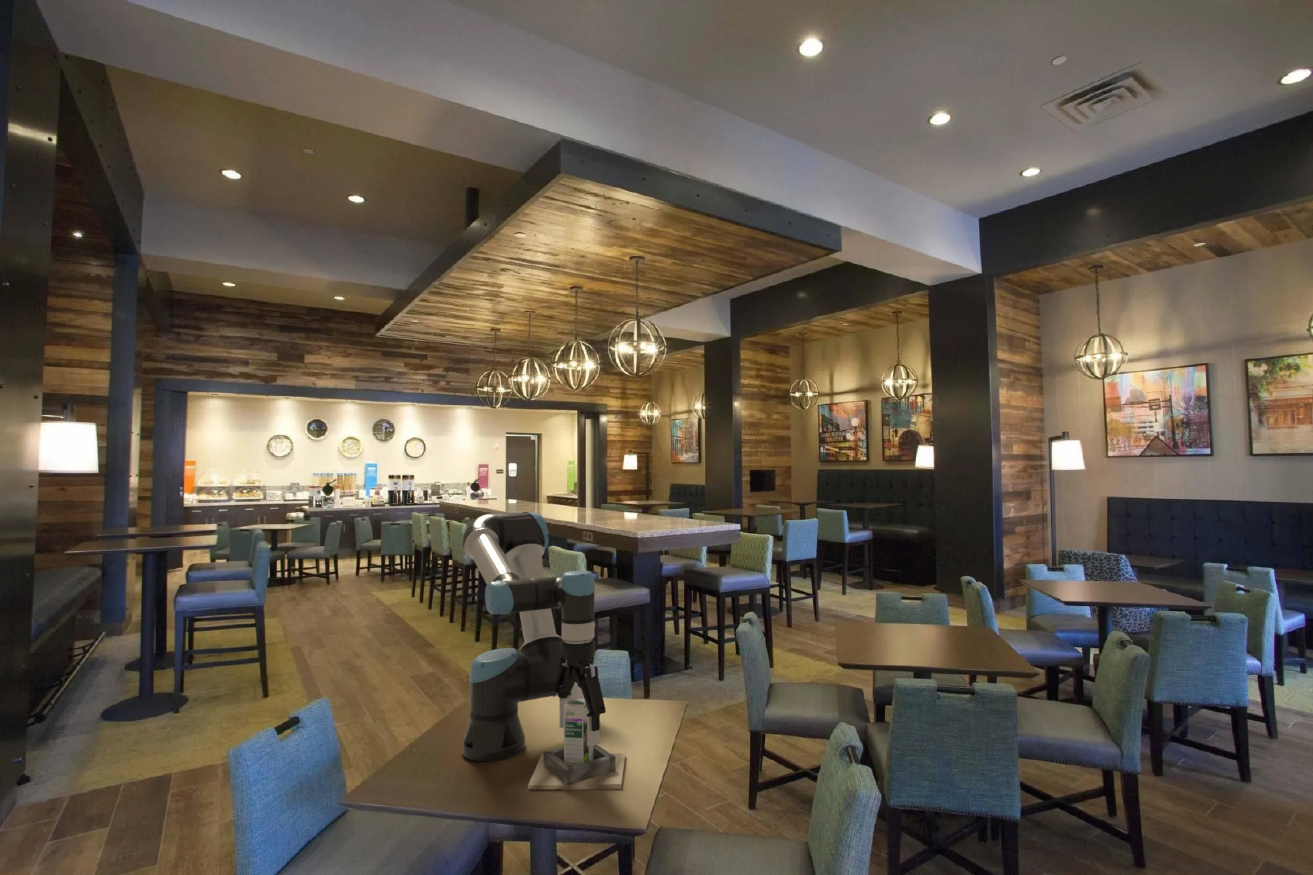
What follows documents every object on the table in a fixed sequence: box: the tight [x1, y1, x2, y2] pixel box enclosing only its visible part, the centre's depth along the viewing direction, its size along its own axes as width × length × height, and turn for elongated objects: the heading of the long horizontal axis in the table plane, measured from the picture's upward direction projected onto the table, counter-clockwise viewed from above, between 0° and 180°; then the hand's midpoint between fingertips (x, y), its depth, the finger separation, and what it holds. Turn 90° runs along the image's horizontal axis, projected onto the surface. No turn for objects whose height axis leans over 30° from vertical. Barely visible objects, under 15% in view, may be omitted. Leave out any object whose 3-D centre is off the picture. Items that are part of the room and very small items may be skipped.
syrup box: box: [563, 699, 593, 767], centre depth 145 cm, size 6×6×14 cm
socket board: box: [527, 744, 626, 791], centre depth 144 cm, size 20×17×4 cm
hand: (579, 735), depth 145 cm, fingers open, 13 cm apart
